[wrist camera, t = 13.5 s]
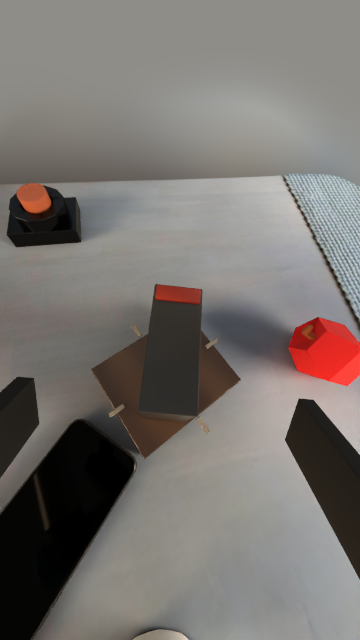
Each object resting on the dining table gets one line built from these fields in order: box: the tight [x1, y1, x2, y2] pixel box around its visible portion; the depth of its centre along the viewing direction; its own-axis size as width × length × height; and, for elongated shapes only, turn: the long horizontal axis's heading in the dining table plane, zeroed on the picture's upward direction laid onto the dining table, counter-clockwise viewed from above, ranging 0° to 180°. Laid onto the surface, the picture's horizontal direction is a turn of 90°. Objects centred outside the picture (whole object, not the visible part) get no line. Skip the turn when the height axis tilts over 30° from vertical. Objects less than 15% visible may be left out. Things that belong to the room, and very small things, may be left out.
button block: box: [7, 186, 81, 247], centre depth 30 cm, size 8×6×4 cm
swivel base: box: [91, 324, 241, 459], centre depth 24 cm, size 12×12×3 cm
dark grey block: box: [138, 284, 202, 422], centre depth 18 cm, size 8×3×9 cm, turn 176°
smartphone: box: [0, 419, 137, 640], centre depth 19 cm, size 7×1×15 cm
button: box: [17, 183, 52, 214], centre depth 28 cm, size 3×3×2 cm
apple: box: [288, 317, 360, 386], centre depth 25 cm, size 7×7×8 cm
